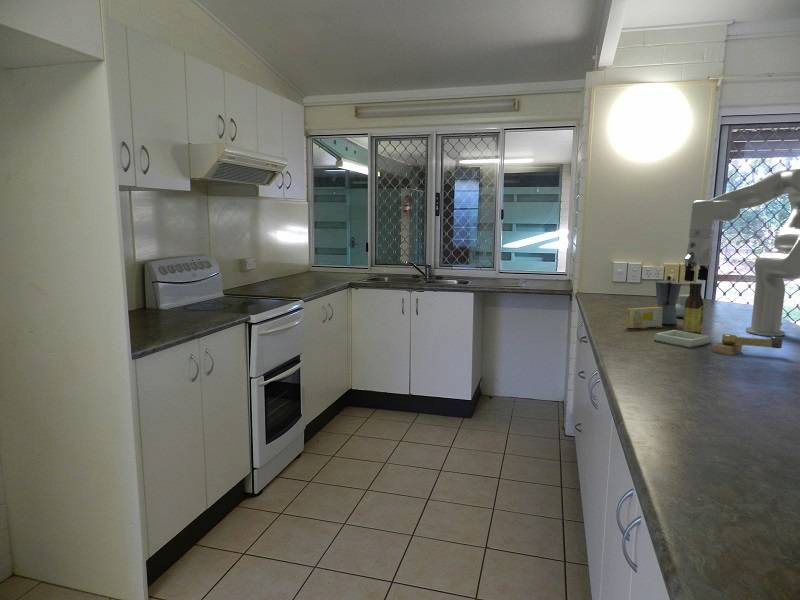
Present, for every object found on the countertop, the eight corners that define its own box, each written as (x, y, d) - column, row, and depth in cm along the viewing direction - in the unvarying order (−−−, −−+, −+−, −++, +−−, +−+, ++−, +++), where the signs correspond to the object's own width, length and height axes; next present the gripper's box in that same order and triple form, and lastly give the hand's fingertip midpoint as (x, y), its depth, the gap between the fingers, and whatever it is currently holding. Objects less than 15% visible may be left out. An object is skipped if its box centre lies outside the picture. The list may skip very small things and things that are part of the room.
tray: (673, 336, 202) (673, 329, 202) (709, 343, 192) (710, 336, 191) (654, 340, 195) (654, 333, 195) (690, 347, 184) (691, 340, 184)
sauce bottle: (703, 337, 201) (708, 284, 198) (685, 336, 203) (690, 283, 200) (697, 333, 208) (702, 282, 205) (680, 332, 209) (684, 281, 206)
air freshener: (680, 319, 239) (682, 296, 237) (667, 316, 247) (669, 294, 245) (701, 318, 241) (703, 296, 240) (687, 315, 249) (689, 293, 248)
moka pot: (675, 321, 233) (679, 275, 230) (680, 327, 219) (685, 278, 216) (651, 319, 236) (654, 274, 234) (655, 326, 222) (659, 277, 219)
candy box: (658, 326, 222) (659, 306, 221) (662, 327, 220) (663, 307, 219) (625, 328, 217) (627, 308, 216) (629, 329, 215) (630, 309, 214)
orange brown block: (723, 348, 184) (724, 340, 184) (741, 351, 179) (742, 344, 179) (711, 351, 179) (712, 343, 179) (729, 355, 175) (730, 347, 174)
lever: (722, 343, 178) (723, 334, 178) (721, 341, 182) (722, 331, 182) (782, 349, 172) (784, 339, 171) (780, 346, 175) (781, 336, 175)
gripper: (699, 234, 192) (694, 282, 194) (722, 235, 202) (717, 280, 204) (678, 233, 198) (673, 280, 200) (701, 234, 208) (696, 278, 210)
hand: (695, 280), depth 202 cm, fingers open, 9 cm apart
